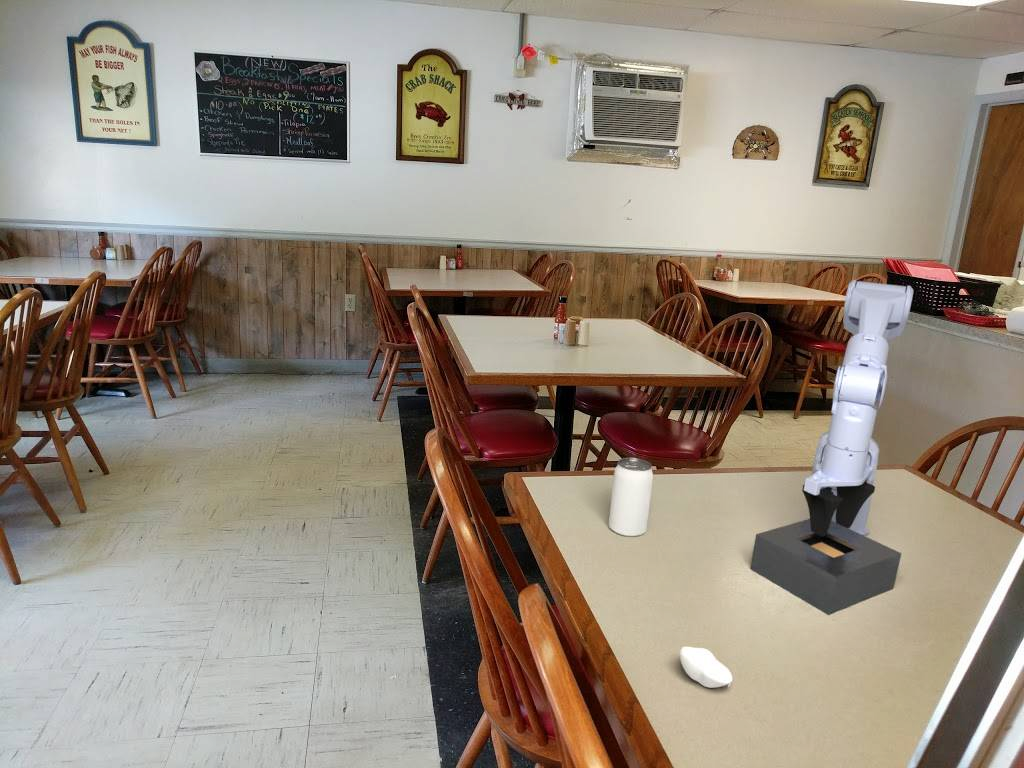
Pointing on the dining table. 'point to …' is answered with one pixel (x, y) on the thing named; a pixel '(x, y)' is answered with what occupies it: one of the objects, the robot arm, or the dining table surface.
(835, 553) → the block
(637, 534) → the can
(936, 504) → the dining table surface
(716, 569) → the dining table surface
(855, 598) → the grey box with hole
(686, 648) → the dumpling
